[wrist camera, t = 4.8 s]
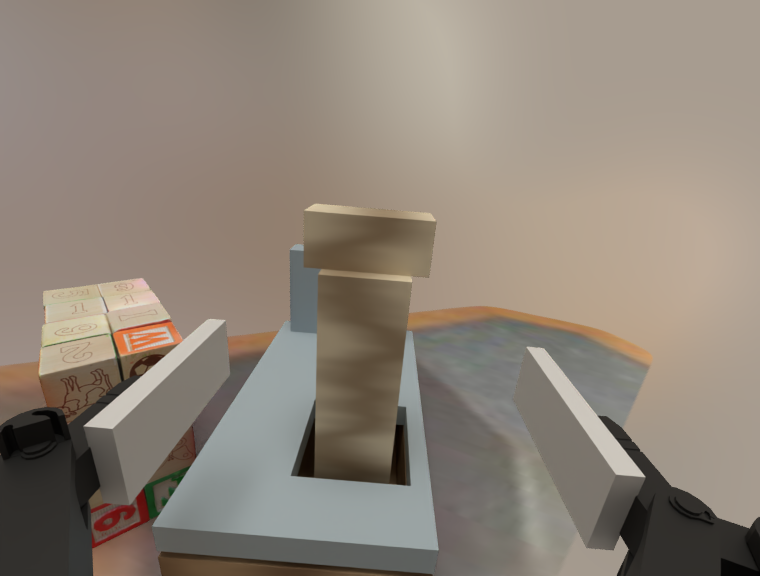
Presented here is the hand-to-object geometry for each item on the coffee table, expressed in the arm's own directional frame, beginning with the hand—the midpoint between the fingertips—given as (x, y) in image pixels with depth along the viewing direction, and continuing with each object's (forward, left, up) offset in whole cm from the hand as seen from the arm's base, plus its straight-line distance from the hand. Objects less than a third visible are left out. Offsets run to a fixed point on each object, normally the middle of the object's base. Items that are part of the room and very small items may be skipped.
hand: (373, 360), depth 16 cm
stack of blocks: (-20, +10, -15) cm, 27 cm away
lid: (-3, +7, -8) cm, 11 cm away
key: (-1, +3, -13) cm, 14 cm away
